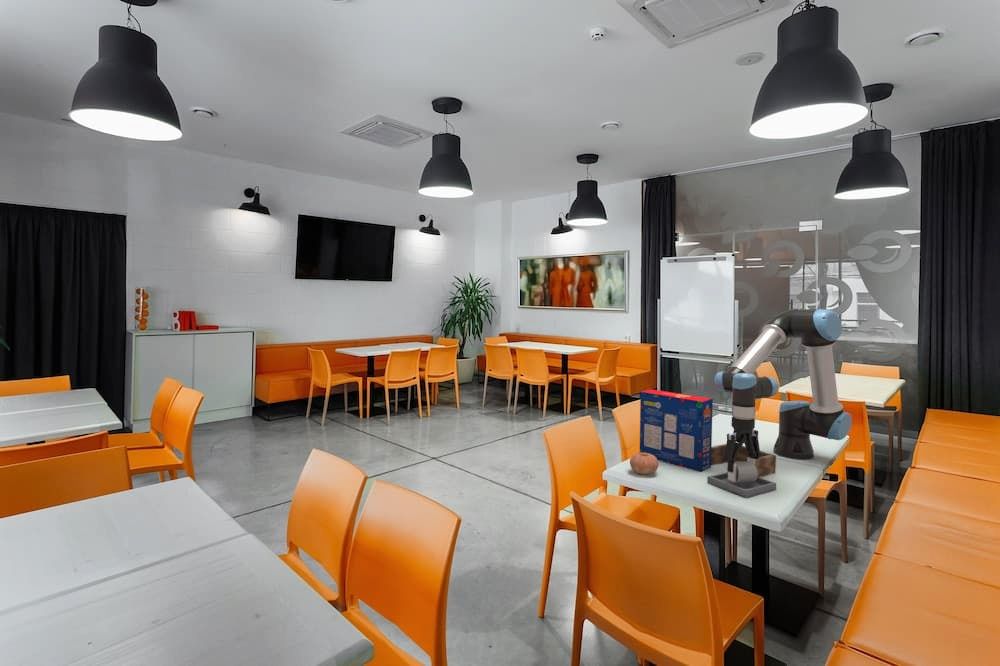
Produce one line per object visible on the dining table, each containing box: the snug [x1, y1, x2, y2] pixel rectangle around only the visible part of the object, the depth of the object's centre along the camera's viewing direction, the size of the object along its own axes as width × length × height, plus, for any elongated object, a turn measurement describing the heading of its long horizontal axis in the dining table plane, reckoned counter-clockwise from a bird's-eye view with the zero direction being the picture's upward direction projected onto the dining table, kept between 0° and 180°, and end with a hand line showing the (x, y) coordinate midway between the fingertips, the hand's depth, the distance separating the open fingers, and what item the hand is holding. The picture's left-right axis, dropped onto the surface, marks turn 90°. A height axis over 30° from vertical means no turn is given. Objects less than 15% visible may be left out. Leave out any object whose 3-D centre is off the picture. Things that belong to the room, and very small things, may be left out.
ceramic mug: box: [726, 461, 758, 483], centre depth 184 cm, size 11×8×8 cm
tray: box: [706, 471, 777, 499], centre depth 183 cm, size 16×16×2 cm
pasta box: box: [639, 389, 714, 473], centre depth 211 cm, size 28×8×28 cm, turn 40°
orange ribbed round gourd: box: [629, 452, 659, 476], centre depth 198 cm, size 11×11×8 cm
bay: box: [711, 443, 777, 478], centre depth 202 cm, size 15×20×7 cm
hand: (741, 478), depth 183 cm, fingers open, 9 cm apart
